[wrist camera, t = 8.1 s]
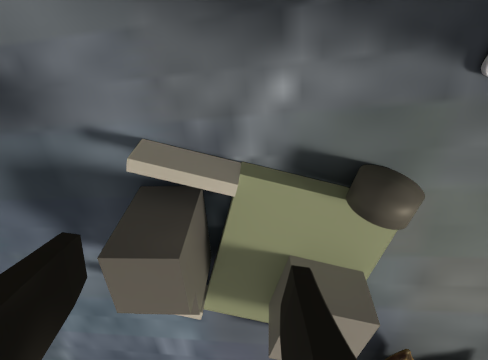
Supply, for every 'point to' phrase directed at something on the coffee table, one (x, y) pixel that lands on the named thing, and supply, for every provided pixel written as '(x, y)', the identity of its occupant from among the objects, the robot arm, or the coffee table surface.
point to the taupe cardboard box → (159, 253)
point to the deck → (291, 234)
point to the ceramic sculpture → (401, 355)
